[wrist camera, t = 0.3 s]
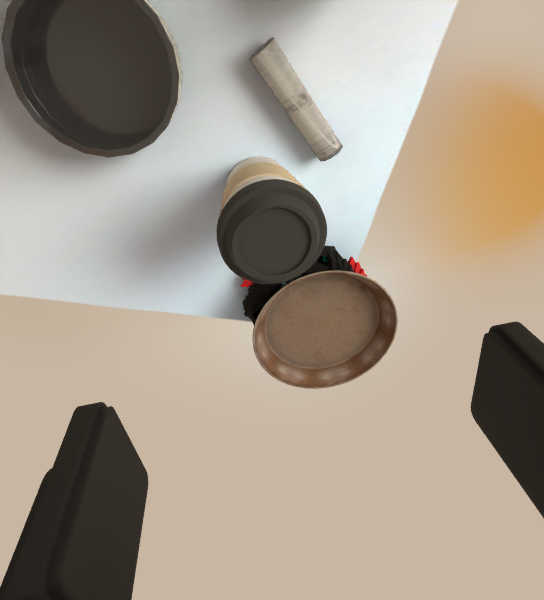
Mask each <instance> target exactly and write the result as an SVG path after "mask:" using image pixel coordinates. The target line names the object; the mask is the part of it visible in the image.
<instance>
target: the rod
mask: <svg viewBox="0 0 544 600" xmlns="http://www.w3.org/2000/svg"><path fill="white" fill-rule="evenodd" d="M250 60H251V62H252V63H253V64H254V66H255V67H256V69H257V70H258V72H259V73H260V74H261V76H262V77H263V79H264V80H265V81H266V83H267V84H268V86H269V87H270V89H271V90H272V92H273V93H274V94H275V96H276V97H277V99H278V100H279V101H280V103H281V104H282V106H283V107H284V109H285V110H286V112H287V113H288V115H289V116H290V117H291V119H292V120H293V122H294V123H295V125H296V126H297V128H298V129H299V131H300V132H301V133H302V135H303V136H304V138H305V139H306V141H307V142H308V144H309V145H310V147H311V148H312V150H313V151H314V153H315V154H316V156H317V157H318V159H319V160H320V161H326V160H328V159H330V158H332V157H333V156H335V155H336V154H337V153H338V152H339V151H340V150H341V149H342V144H341V143H340V141H339V140H338V138H337V137H336V135H335V134H334V132H333V131H332V129H331V128H330V126H329V125H328V123H327V121H326V120H325V118H324V117H323V115H322V114H321V112H320V111H319V109H318V108H317V106H316V104H315V103H314V101H313V100H312V98H311V97H310V95H309V94H308V92H307V90H306V89H305V87H304V86H303V84H302V82H301V81H300V79H299V78H298V76H297V75H296V73H295V71H294V70H293V68H292V67H291V65H290V63H289V62H288V60H287V58H286V57H285V55H284V53H283V52H282V50H281V48H280V47H279V45H278V43H277V41H276V40H275V38H274V37H273V38H271V39H269V40H268V41H267V42H266V43H265V44H264V45H263V46H261V47H260V49H259V50H258V51H257V52H256V53H255V54H254V55H253V56H252V57H251V58H250Z"/></svg>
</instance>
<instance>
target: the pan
mask: <svg viewBox="0 0 544 600" xmlns="http://www.w3.org/2000/svg"><path fill="white" fill-rule="evenodd" d="M2 41H3V49H4V57H5V66H6V70H7V72H8V74H9V77H10V79H11V82H12V84H13V86H14V89H15V91H16V94H17V96H18V98H19V100H20V101H21V102H22V104H23V105H24V106H25V108H26V109H27V110H28V112H29V113H30V114H31V116H32V117H33V118H34V120H35V121H36V122H37V123H38V124H39V125H40V126H41V127H43V128H44V129H45V130H46V131H47V132H49V133H50V134H51V135H52V136H54V137H55V138H56V139H57V140H58V141H60V142H62V143H64V144H66V145H68V146H70V147H72V148H74V149H76V150H78V151H81V152H83V153H86V154H92V155H98V156H104V157H115V156H122V155H129V154H133V153H135V152H137V151H139V150H141V149H143V148H145V147H147V146H148V145H150V144H152V143H153V142H154V141H155V140H156V139H157V138H158V137H159V136H160V134H161V133H162V132H163V131H164V130H165V129H166V128H167V127H168V125H169V123H170V121H171V119H172V117H173V115H174V112H175V110H176V107H177V105H178V102H179V100H180V96H181V85H182V69H181V63H180V57H179V53H178V49H177V46H176V43H175V41H174V39H173V36H172V34H171V32H170V30H169V28H168V27H167V25H166V23H165V21H164V19H163V18H162V17H161V16H160V14H159V13H158V12H157V11H156V10H155V9H154V7H153V6H152V5H151V4H150V3H149V2H148V1H147V0H13V1H12V2H11V4H10V5H9V7H8V10H7V15H6V20H5V25H4V30H3V35H2Z"/></svg>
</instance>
